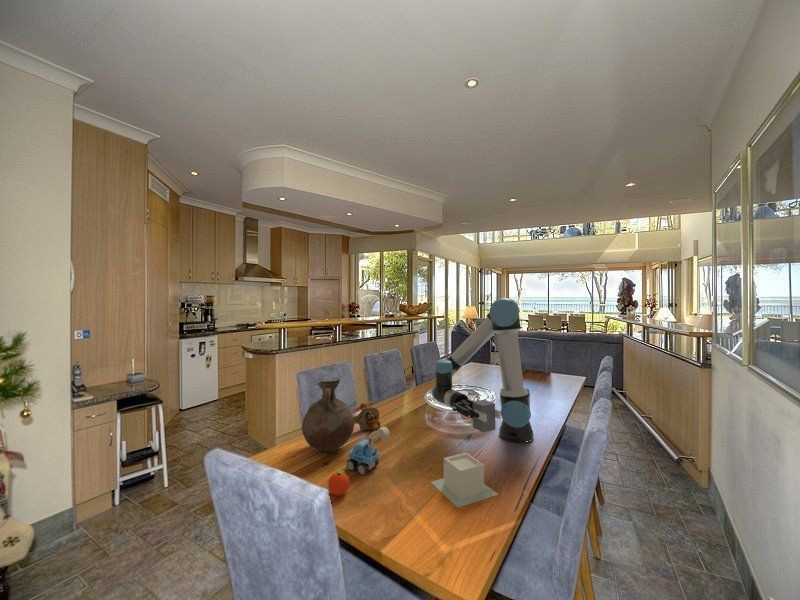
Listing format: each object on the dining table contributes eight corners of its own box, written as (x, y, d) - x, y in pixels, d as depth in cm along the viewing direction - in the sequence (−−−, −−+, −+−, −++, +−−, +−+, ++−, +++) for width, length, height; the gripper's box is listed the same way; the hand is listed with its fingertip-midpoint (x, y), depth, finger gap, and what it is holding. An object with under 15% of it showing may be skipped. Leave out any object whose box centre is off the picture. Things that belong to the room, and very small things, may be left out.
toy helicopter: (382, 429, 168) (382, 401, 168) (342, 438, 157) (342, 408, 157) (374, 424, 175) (374, 397, 175) (336, 432, 164) (336, 404, 164)
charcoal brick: (484, 424, 137) (484, 399, 137) (495, 429, 132) (494, 403, 132) (472, 427, 135) (472, 401, 134) (482, 432, 129) (482, 405, 129)
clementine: (337, 484, 119) (337, 464, 119) (355, 489, 116) (355, 468, 116) (323, 497, 112) (323, 475, 112) (342, 502, 109) (342, 479, 109)
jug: (348, 435, 160) (348, 371, 160) (359, 456, 140) (359, 382, 140) (300, 442, 153) (300, 375, 152) (304, 465, 132) (304, 387, 132)
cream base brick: (466, 477, 122) (466, 452, 122) (483, 491, 113) (484, 464, 113) (443, 484, 118) (443, 458, 117) (460, 499, 109) (460, 470, 109)
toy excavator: (380, 482, 121) (380, 433, 120) (344, 469, 130) (344, 424, 129) (393, 471, 128) (393, 425, 128) (358, 460, 137) (358, 417, 137)
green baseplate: (467, 474, 126) (467, 471, 126) (498, 497, 112) (498, 494, 112) (430, 484, 119) (430, 481, 119) (457, 510, 105) (457, 507, 105)
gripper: (474, 405, 153) (512, 422, 133) (438, 412, 145) (472, 431, 124) (473, 389, 153) (511, 402, 133) (437, 394, 145) (472, 410, 124)
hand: (492, 416), depth 129 cm, fingers closed on charcoal brick, 6 cm apart
